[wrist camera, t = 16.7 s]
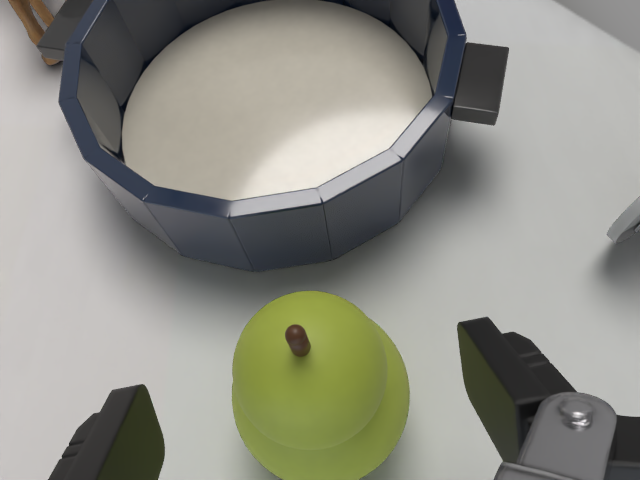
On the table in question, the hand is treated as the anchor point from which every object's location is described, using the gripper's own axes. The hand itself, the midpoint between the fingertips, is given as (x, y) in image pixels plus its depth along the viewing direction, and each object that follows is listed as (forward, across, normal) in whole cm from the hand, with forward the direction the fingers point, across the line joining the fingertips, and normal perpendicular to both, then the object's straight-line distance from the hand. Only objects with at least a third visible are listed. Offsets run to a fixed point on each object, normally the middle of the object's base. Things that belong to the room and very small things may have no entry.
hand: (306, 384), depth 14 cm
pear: (+6, 0, +5) cm, 8 cm away
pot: (+17, 0, -5) cm, 18 cm away
